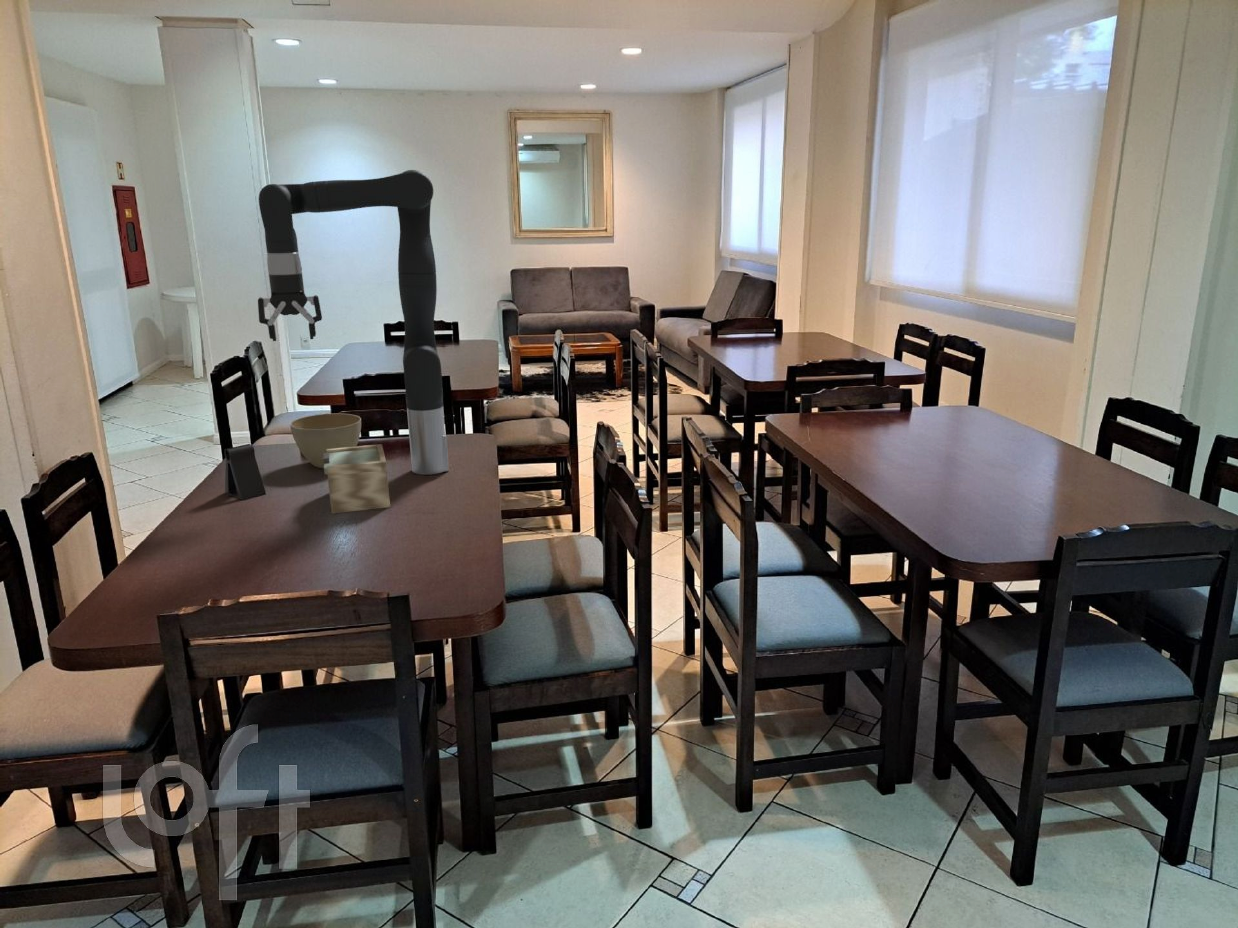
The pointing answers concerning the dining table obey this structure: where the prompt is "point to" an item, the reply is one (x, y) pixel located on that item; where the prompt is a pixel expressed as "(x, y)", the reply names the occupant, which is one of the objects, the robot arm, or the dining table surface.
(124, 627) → the dining table surface
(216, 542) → the dining table surface
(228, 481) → the phone stand
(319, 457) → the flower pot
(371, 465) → the bread box
